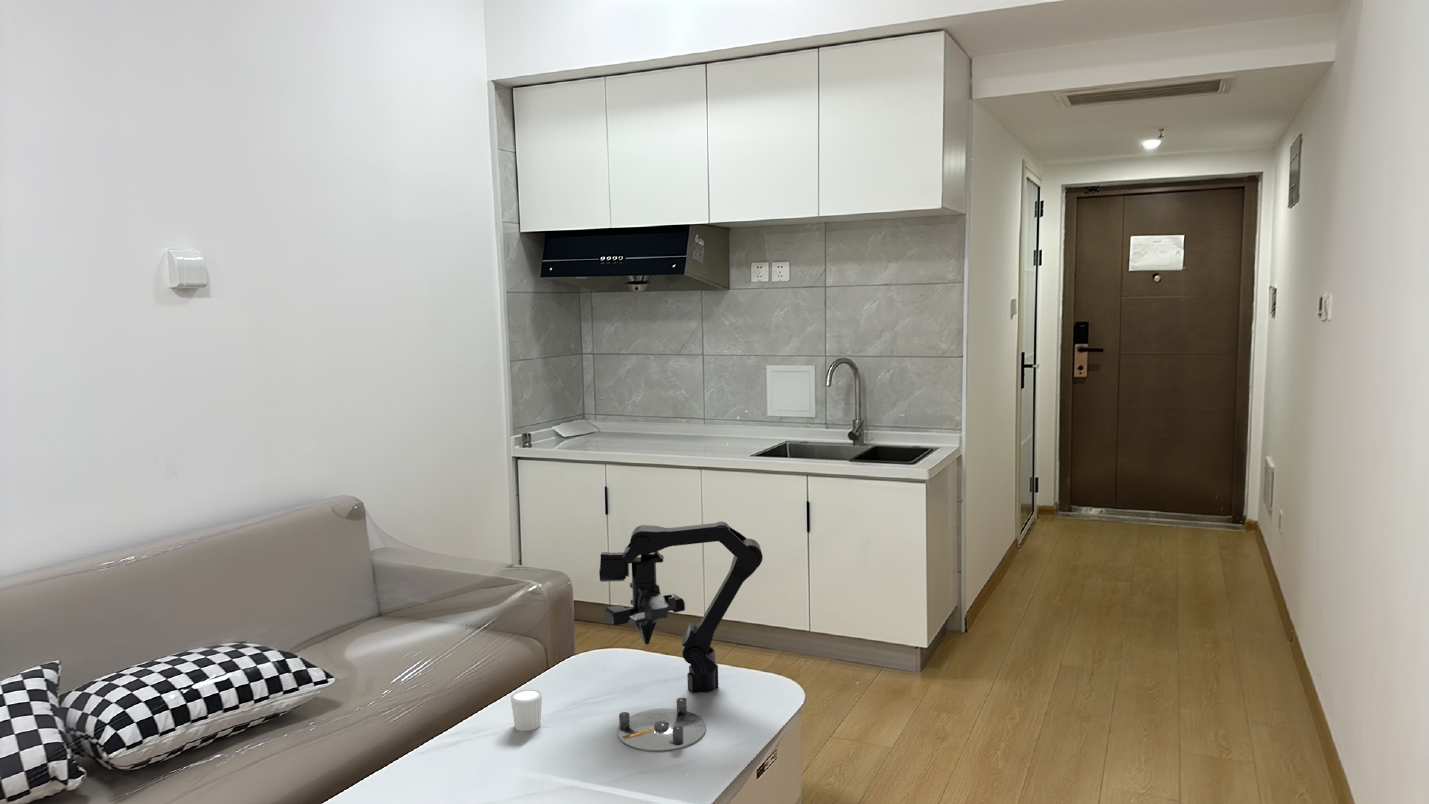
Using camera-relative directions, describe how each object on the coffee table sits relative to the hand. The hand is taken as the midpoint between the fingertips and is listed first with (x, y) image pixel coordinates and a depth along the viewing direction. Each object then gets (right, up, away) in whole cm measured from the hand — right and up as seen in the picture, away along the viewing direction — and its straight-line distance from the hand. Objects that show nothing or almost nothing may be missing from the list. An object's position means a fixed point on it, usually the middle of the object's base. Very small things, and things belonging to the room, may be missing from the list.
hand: (646, 644), depth 223 cm
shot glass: (-25, -15, -14) cm, 32 cm away
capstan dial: (+5, -13, -20) cm, 24 cm away
